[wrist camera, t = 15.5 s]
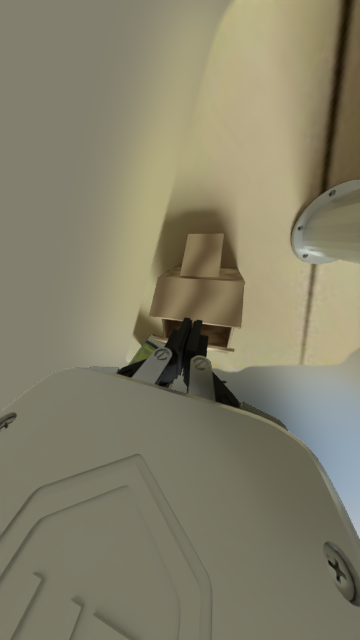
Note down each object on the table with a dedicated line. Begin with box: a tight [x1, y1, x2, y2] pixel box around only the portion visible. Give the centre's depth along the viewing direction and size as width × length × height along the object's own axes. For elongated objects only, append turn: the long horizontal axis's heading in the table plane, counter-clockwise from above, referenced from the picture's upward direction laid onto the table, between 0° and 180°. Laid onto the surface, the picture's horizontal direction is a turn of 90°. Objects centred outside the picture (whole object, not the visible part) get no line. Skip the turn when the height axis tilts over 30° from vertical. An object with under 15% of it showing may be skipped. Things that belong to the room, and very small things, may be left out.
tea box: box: [129, 334, 174, 389], centre depth 49 cm, size 15×10×15 cm
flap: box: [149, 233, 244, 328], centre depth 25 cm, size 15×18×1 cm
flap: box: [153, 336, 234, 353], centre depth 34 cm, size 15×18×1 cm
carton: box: [160, 266, 245, 348], centre depth 34 cm, size 16×16×12 cm
